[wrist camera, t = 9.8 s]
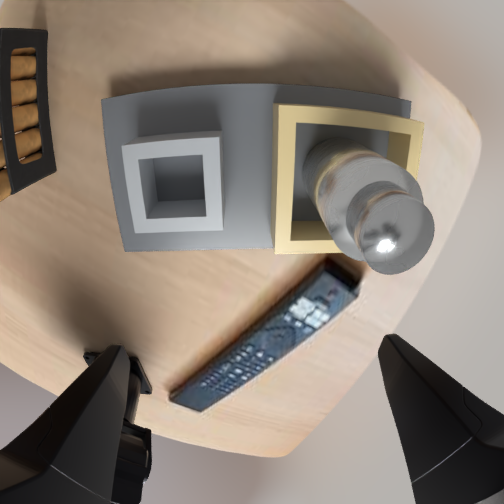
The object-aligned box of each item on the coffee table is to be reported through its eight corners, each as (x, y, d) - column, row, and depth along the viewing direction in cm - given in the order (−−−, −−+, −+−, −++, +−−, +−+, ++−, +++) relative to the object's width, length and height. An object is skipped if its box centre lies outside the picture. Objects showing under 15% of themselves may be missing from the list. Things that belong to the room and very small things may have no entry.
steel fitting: (367, 209, 17) (430, 285, 11) (300, 208, 17) (335, 292, 10) (375, 140, 15) (459, 184, 8) (303, 135, 15) (351, 175, 8)
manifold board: (380, 235, 20) (404, 265, 17) (131, 240, 20) (112, 273, 16) (399, 99, 15) (434, 105, 12) (111, 98, 15) (80, 102, 11)
